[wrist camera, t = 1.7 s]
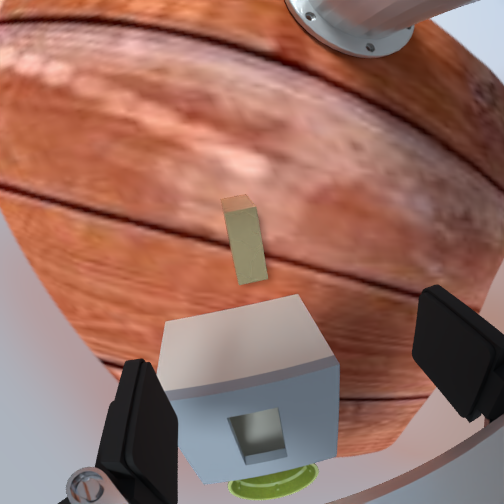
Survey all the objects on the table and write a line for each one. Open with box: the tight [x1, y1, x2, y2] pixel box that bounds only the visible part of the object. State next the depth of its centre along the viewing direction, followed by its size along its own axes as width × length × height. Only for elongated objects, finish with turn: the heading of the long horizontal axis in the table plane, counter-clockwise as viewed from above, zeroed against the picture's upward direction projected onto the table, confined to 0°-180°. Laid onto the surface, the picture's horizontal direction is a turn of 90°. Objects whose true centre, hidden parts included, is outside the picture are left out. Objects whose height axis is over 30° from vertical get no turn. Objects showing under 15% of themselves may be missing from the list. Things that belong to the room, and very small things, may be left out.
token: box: [221, 194, 268, 285], centre depth 22 cm, size 5×2×5 cm, turn 10°
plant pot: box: [228, 463, 319, 500], centre depth 29 cm, size 9×9×9 cm
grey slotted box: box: [157, 294, 340, 484], centre depth 24 cm, size 12×12×10 cm
